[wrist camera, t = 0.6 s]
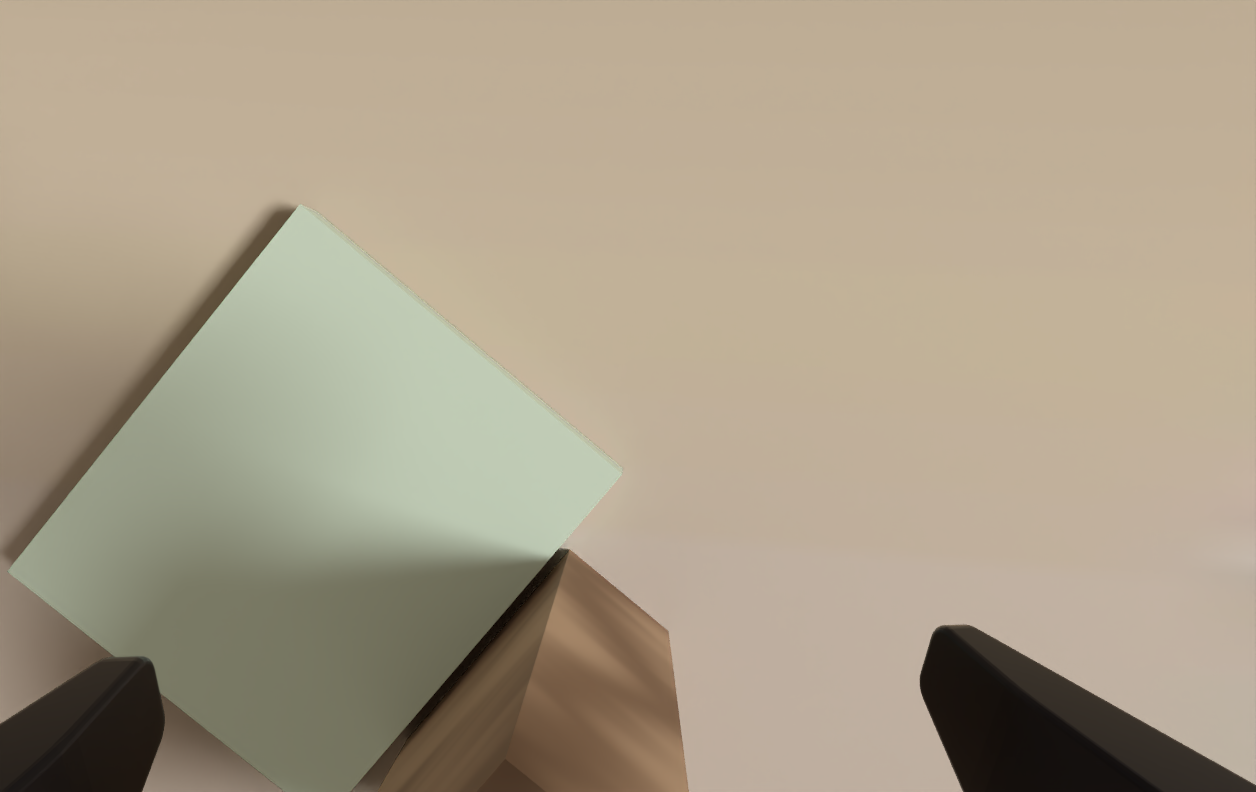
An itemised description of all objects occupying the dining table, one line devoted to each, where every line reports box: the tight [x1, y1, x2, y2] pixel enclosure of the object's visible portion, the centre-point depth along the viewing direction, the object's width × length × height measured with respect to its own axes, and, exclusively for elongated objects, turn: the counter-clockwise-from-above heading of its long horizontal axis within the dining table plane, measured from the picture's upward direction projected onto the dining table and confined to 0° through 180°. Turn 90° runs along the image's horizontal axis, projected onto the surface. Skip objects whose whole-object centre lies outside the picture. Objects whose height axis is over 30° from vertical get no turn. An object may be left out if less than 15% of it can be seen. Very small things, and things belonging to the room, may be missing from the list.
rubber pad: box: [7, 204, 623, 792], centre depth 21 cm, size 12×14×1 cm
